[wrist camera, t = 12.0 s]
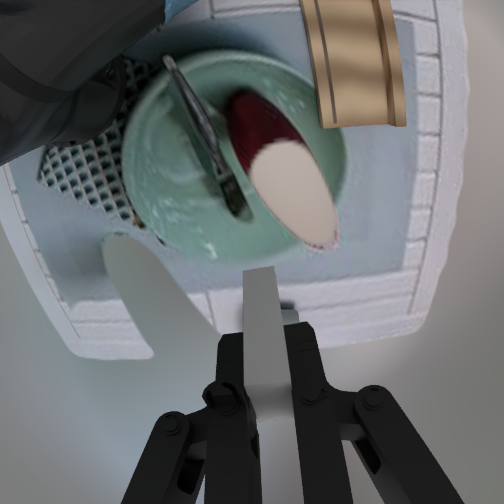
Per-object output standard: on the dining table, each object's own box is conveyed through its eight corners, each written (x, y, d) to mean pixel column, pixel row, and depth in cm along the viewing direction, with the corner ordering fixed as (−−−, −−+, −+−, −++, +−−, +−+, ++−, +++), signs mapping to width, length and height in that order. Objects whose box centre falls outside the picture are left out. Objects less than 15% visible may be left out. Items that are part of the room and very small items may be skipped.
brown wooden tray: (393, 122, 33) (408, 127, 30) (320, 126, 34) (329, 131, 30) (364, -44, 21) (376, -54, 17) (287, -47, 22) (292, -60, 18)
